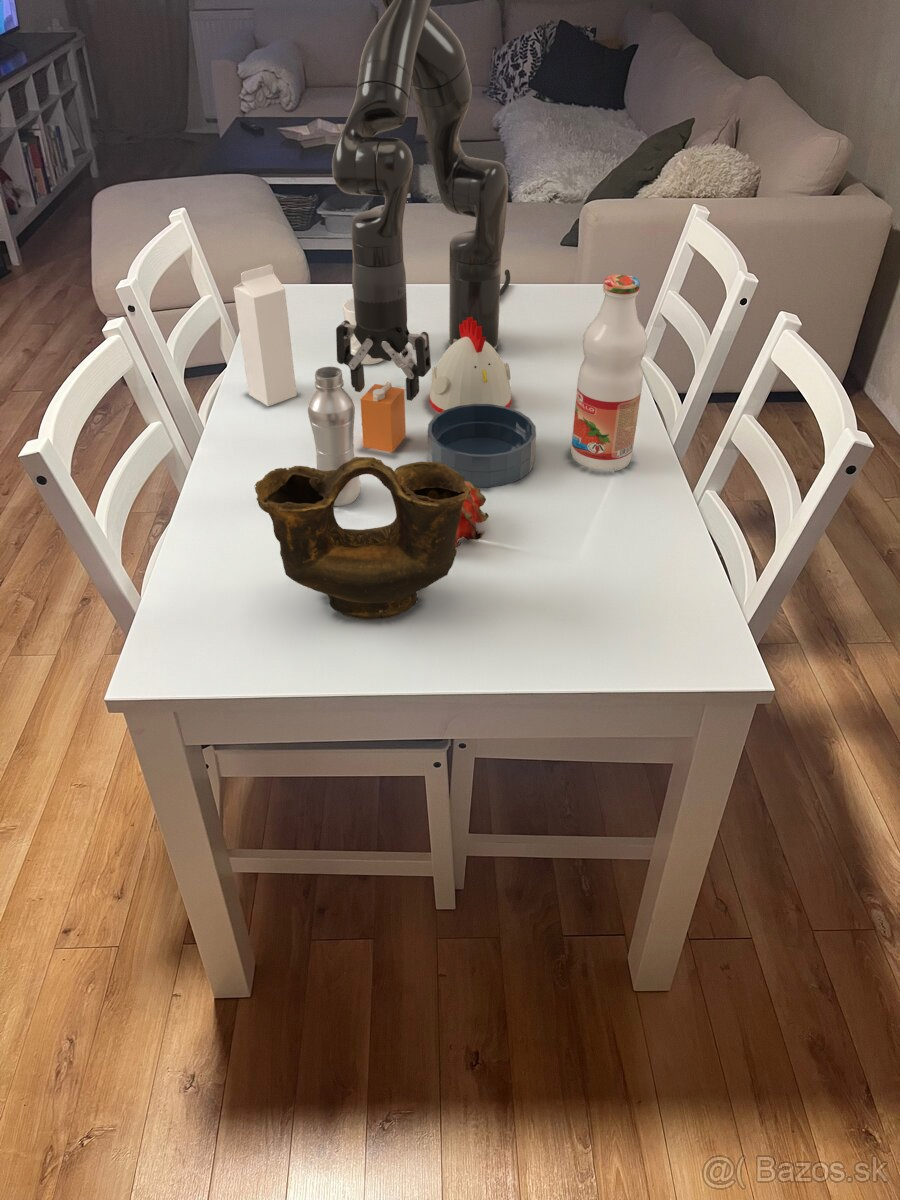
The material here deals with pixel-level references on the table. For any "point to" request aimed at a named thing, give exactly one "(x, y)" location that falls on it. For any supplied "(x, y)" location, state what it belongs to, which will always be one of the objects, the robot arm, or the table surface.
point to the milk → (265, 336)
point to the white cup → (355, 345)
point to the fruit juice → (610, 380)
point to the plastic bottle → (333, 427)
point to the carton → (383, 417)
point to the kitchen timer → (470, 373)
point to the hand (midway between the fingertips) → (385, 394)
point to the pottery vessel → (366, 533)
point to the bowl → (483, 443)
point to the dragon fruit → (471, 515)
